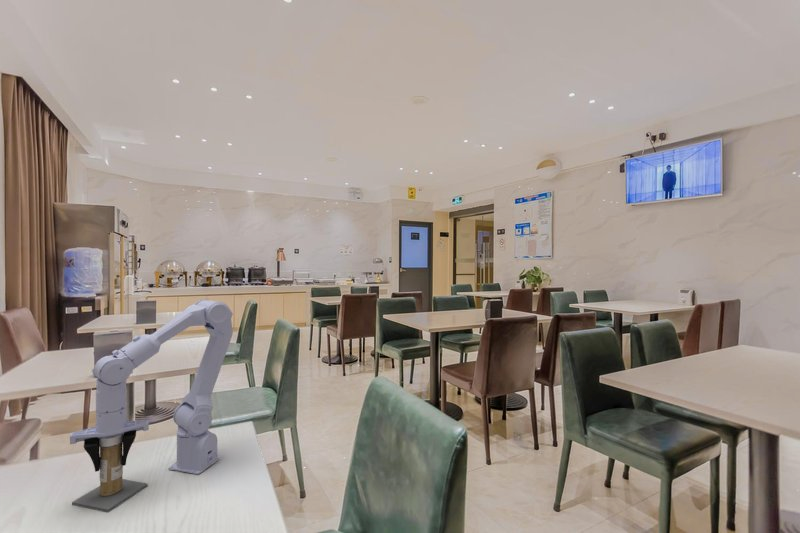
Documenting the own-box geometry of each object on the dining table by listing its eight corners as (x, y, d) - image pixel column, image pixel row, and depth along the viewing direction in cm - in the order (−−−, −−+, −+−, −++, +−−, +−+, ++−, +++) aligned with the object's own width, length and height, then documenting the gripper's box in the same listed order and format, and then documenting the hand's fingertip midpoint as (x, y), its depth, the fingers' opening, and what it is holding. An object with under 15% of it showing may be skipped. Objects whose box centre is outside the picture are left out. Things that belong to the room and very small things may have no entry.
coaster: (147, 485, 94) (147, 483, 94) (108, 512, 84) (108, 509, 84) (114, 479, 96) (114, 477, 96) (72, 504, 86) (72, 502, 86)
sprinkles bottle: (123, 492, 90) (123, 435, 90) (98, 499, 87) (98, 440, 87) (123, 483, 94) (123, 428, 93) (99, 489, 91) (99, 433, 91)
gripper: (149, 397, 97) (148, 451, 97) (74, 408, 89) (73, 466, 89) (148, 407, 91) (148, 464, 91) (68, 419, 83) (67, 482, 83)
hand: (111, 466), depth 90 cm, fingers closed on sprinkles bottle, 4 cm apart
